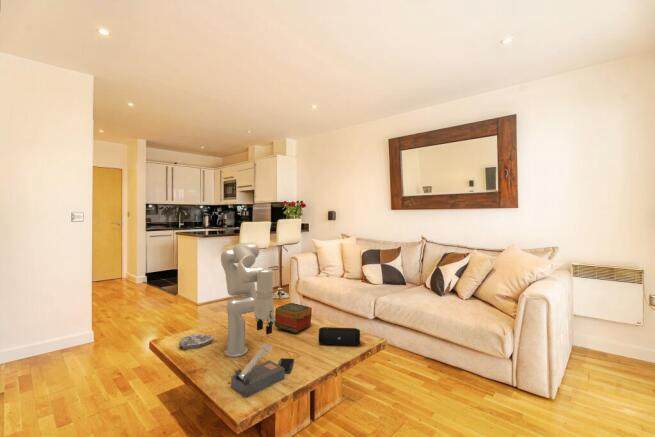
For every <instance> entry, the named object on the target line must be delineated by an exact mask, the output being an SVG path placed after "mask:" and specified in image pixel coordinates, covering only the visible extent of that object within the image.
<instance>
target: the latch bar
mask: <svg viewBox="0 0 655 437" xmlns="http://www.w3.org/2000/svg"><path fill="white" fill-rule="evenodd" d="M272 349H273V346H272V345H270V344H269V343H266V342H264V343H262V345H261V346H260V349H259V350H258V352H257V353H256V354H255V356H254V357H253V358H252V359H251V360H250V362H248V363H247V365H246V366H245V368H244V369H243V370H241V372H239V373H238V374H237V376H238V377H239V378H241V379H242V380H243V376H245V375H247V374H249V372H250V371H251V370H252V369H253V367H255V366H257V364H258V362H259V361H260V360H261V359H262V358H263V357H264V355H265V354H266V353H269V352H270V351H271V350H272Z"/></svg>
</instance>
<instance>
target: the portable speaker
mask: <svg viewBox="0 0 655 437" xmlns="http://www.w3.org/2000/svg"><path fill="white" fill-rule="evenodd" d="M318 343H320V344H322V345H336V344H342V345H343V346H344V345H345V346H358V345H360V344H361V330H360V329H359V328H356V327H329V326H328V327H327V326H324V327H319V329H318ZM342 345H341V346H342Z"/></svg>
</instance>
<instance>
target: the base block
mask: <svg viewBox="0 0 655 437" xmlns="http://www.w3.org/2000/svg"><path fill="white" fill-rule="evenodd" d="M278 364H279V363H278ZM278 364H277V363H275V362H274V361H272V360H270V359H269V360H267V361H265V362H262V363H260V364H258V365H257V364H256V365H255V366H254V367H253V369H252V370H251V371H250V372H249V374H247V375H245V376H243V380H242V379H241V378H239V377H238V376H237V374H238V373H239V372H242V369H241V368H238V369H236V370H235V371H234V375H232V376H230V387H231V388H232V389H233V390H235V391H236V393H238V394H240V395H242V396H243V397H244V398H248V397H250V396H252V395H254V394H256V393H258V392H260V391H262V390H264V389H267V388H268V387H270V386H272V385H274V384H276V383H278V382H280V381H282V380H284V379H285V377H286V376H285V375H286V374H285V368H283V367H281V366H280V365H278Z"/></svg>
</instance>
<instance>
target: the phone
mask: <svg viewBox="0 0 655 437" xmlns="http://www.w3.org/2000/svg"><path fill="white" fill-rule="evenodd" d="M294 363H295V358H285V357H284V358H280V359H279V362H278V365H280V366H281V367H283V368H285V375H290V374H291V373H292V370H293V366H294Z"/></svg>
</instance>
